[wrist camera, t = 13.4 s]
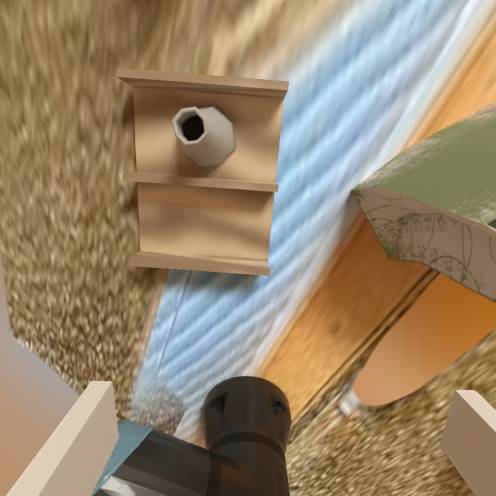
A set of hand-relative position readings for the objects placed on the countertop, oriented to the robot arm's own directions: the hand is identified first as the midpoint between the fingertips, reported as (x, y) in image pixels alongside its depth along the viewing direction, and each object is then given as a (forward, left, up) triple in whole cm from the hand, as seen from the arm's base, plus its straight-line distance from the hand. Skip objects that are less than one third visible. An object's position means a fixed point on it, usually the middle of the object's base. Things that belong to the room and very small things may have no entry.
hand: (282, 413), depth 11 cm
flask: (+12, +8, -28) cm, 32 cm away
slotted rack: (+7, +8, -29) cm, 31 cm away
